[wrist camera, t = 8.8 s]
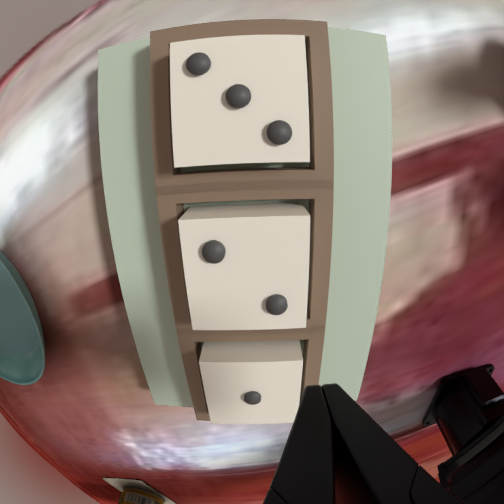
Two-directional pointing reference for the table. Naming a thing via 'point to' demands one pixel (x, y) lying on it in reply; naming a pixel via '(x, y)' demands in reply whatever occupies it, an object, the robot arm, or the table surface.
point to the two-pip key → (246, 265)
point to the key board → (250, 202)
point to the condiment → (137, 492)
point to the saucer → (19, 329)
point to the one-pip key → (252, 381)
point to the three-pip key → (239, 100)
